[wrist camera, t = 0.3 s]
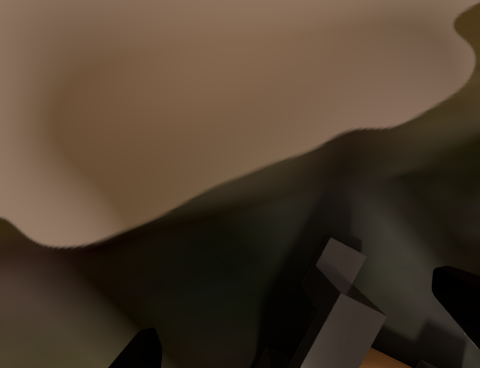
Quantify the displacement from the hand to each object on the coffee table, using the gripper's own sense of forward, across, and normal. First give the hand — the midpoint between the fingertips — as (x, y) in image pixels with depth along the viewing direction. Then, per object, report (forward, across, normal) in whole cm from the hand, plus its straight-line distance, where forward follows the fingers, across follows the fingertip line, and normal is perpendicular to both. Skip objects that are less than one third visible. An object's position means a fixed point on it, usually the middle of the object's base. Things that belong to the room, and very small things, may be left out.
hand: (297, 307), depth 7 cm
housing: (+12, -3, +15) cm, 19 cm away
